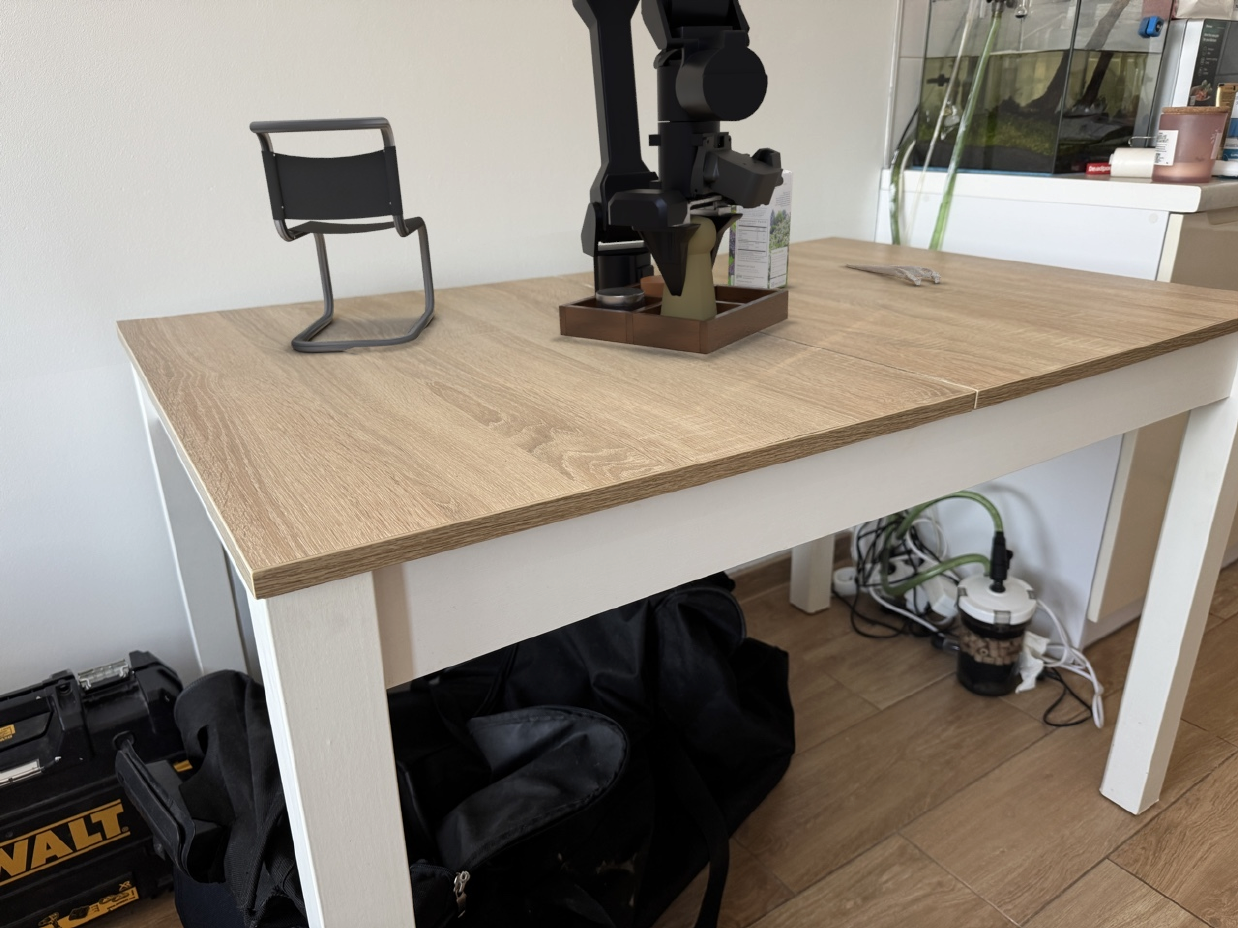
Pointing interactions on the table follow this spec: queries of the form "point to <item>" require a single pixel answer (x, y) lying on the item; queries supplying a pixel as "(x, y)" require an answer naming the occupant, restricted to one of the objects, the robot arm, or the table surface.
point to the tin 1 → (620, 299)
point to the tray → (678, 320)
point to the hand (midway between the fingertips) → (689, 292)
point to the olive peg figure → (695, 277)
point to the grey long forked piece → (901, 272)
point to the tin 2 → (653, 285)
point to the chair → (339, 208)
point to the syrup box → (762, 241)
